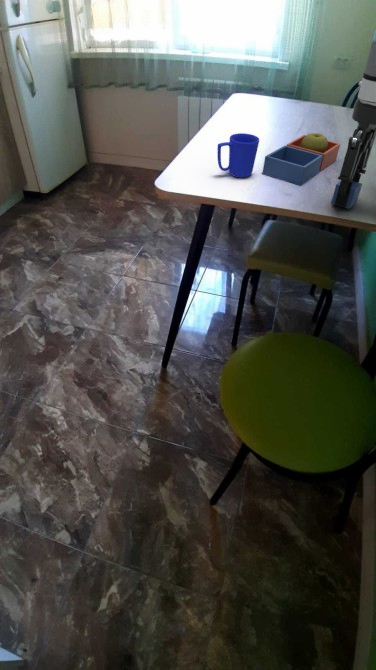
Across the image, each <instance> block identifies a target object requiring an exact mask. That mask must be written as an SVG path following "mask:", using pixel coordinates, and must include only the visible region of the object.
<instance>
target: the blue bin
mask: <svg viewBox="0 0 376 670" xmlns="http://www.w3.org/2000/svg"><path fill="white" fill-rule="evenodd" d="M322 157H323V155H319V154H316V153H312V152H308V151H304V150H301V149H297V148H293V147H290V146H287V144H285V145H283V146H281V147H279V148H278V149H276V150H273V151H272V152H270V153H269V154H266V155H265V156H264V162H263V167H262V173H261V174H262V175H265V176H268V177H271V178H274V179H278V180H281V181H284V182H287V183H290V184H294V185H297V186H302V185H304V184H305V183H307V182H308V181H309V180H311V179H312V178H313V177H315V176H317V175H318V174H319V173H320V172H319V169H320V165H321V161H322Z"/></svg>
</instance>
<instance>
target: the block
mask: <svg viewBox="0 0 376 670" xmlns="http://www.w3.org/2000/svg"><path fill="white" fill-rule="evenodd" d="M340 183H341V180H339V182H337V183H336V184H335V187H334V191H333V194H332V198H331V202H330V204H332V205H335V200H336V197H337V193H338V190H339V186H340ZM362 186H363V183H361V182H359V183H358V182H355V181H353V184H352V187H351V190H350V194H349V197H348V200H347V203H346V207H344V208H345V209H347V210H350V209H351V208H352V207H353V206H354V205H355V204H356V203H357V201H358V199H359V196H360V193H361V189H362Z"/></svg>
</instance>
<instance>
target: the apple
mask: <svg viewBox="0 0 376 670" xmlns="http://www.w3.org/2000/svg"><path fill="white" fill-rule="evenodd" d="M305 135H306V136H305V137H304V138H303V140H302V142H301V148H305V149H309V150H313V151H317V152H320V153H325V151H326V149H327V146H328V141H329V140H328V139H327V137H326V136H325V135H324V134H322V133H320V132H319V133H318V132H310V133H307V134H305Z"/></svg>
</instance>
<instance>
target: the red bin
mask: <svg viewBox="0 0 376 670" xmlns="http://www.w3.org/2000/svg"><path fill="white" fill-rule="evenodd" d="M306 135H307V134H303V135H301V136H300V137H297V138H296V139H294V140H292V141H291V142H289V143H287V144H286V146H290V147H293V148H297V149H301V150H304V151H308V152H312V153H316V154H319V155H323V157H322V161H321V165H320V169H319V173H320V172H322V171H323V170H325V169H327V167H329V166H331V165H332V164H334V163H335V162H336V161H337V157H338V155H339V151H340V148H341V143H340V142H339V143H338V142H335V141H331V140H327V141H328V146H327V149H326V151H325V153H320V152H317V151H313V150H309V149H305V148H301V142H302V140H303V138H304V137H305V136H306Z"/></svg>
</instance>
